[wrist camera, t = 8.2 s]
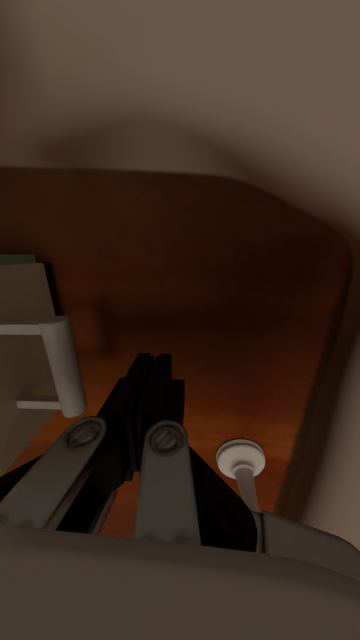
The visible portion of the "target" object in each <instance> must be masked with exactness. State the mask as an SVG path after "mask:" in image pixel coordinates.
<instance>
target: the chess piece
mask: <svg viewBox="0 0 360 640" xmlns="http://www.w3.org/2000/svg"><path fill="white" fill-rule="evenodd" d="M216 460H217V463H218V467H219V469H220V470H221V472H222V473H224V474H225V475H226V476H228V477H231V478H234V479H236V480H237V483H238V486H239V489H240V492H241V495H242V498H243V501H244V502H245V504H246V505H247V506H248V508H249V509H251V510H253V511H256V512H259V508H258V503H257V497H256V490H255V484H254V476H256V475H258V474H259V473H260V472H261V471H262V470H263V468H264V466H265V458H264V453H263V450H262V448H261V447H260V446H259V445H258V444H256V443H255V442H252V441H250V440H245V439H236V440H231V441H229V442H226V443H225V444H223V445H222V446H221V447H220V448H219V449H218V451H217V454H216Z"/></svg>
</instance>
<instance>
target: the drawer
mask: <svg viewBox="0 0 360 640" xmlns="http://www.w3.org/2000/svg"><path fill="white" fill-rule="evenodd" d="M86 408H87V401H86V396H85V391H84V386H83V382H82V377H81V372H80V367H79V362H78V357H77V352H76V348H75V343H74V338H73V333H72V328H71V323H70V319H69V317H68V316H55V312H54V308H53V303H52V299H51V294H50V290H49V286H48V281H47V277H46V273H45V268H44V264H43V263H22V264H6V265H0V477H1V476H2V475H3V474H4V473H5V471H6V470H7V469H8V468H9V467H10V465H11V464H12V463H13V462H14V461H15V460H16V458H17V457H18V456H19V455H20V454H21V452H22V451H23V450H24V449H25V448H26V447H27V445H28V444H29V443H30V442H31V441H32V440H33V438H34V437H35V436H36V435H37V434H38V432H39V431H40V430H41V429H42V428H43V427H44V425H45V424H46V423H47V422H48V421H49V420H50V418H51V417H52V416H53V415H54V414H55V412H56V411H57V410H58V409H59V410H60V409H61V410H62V414H63V415H64V416H65V417H68V418H71V417H75V416H78V415H80V414H81V413H83V412H84V411H85V410H86Z"/></svg>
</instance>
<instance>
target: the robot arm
mask: <svg viewBox="0 0 360 640" xmlns="http://www.w3.org/2000/svg"><path fill="white" fill-rule="evenodd" d="M184 402H185V382H184V380H173V379H172V360H171V354H160V356H156V358H155V360H154V357H153V356H150V353H139V354H138V355H137V357H136V359H135V360H134V362H133V364H132V366H131V367H130V369H129V371H128V373H127V374H126V376H125V378H120V379H119V380H118V382H117V383H116V385H115V386H114V388H113V390H112V391H111V393H110V395H109V396H108V398H107V400H106V401H105V403H104V404H103V406H102V408H101V409H100V411H99V413H98V414H97V416H89V417H85V418H82V419H80V420H78V421H76V422H74V423H73V424H72V425H71V426H69V427H68V428H67V429H66V430H65V431H64V433H63V434H62V435H61V436H60V437H59V438H58V439H57V440H56V441H55V442H54V444H53V445H52V446H51V447H50V448H49V449H48V450H47V451H46V452H45V453H44V454H43V455H41V456H39V457H37V458H35V459H33V460H31V461H30V462H28V463H26V464H24V465H22V466H20V467H18V468H17V469H15V470H13V471H11V472H9V473H7V474H5V475H4V476H2V477H0V640H360V551H359V550H358V549H356V548H355V547H354V546H353V545H352V544H351V543H350V542H348V541H346V540H344V539H342V538H340V537H338V536H336V535H332V534H330V533H327V532H324V531H321V530H318V529H316V528H313V527H310V526H307V525H304V524H302V523H299V522H296V521H293V520H290V519H287V518H285V517H282V516H279V515H276V514H273V513H270V512H268V511H265V510H263V511H262V513H259V512H256V511H253V510H251V509H249V508H248V506H247V505H246V504H245V502H244V501H243V500H242V499H241V498H240V497H239V496H238V495H237V494H236V493H235V492H234V491H233V490H232V489H231V488H230V487H229V486H228V485H227V484H226V483H225V482H224V481H223V480H222V479H221V478H220V477H219V476H218V475H217V474H216V473H215V472H214V471H213V470H212V469H211V468H210V467H209V465H208V464H207V463H206V462H205V461H204V460H203V459H202V458H201V457H200V456H199V455H198V454H197V453H196V452H195V451H194V450H193V449H192V448H191V447H190V446H189V444H188V436H187V432H186V429H185V428H184V427H183V418H184ZM134 471H135V472H138V471H140V483H139V492H138V501H137V510H136V519H135V528H134V538H125V537H115V536H105V535H99V532H100V530H101V528H102V526H103V524H104V522H105V519H106V517H107V515H108V513H109V511H110V508H111V506H112V504H113V502H114V500H115V497H116V494H117V488H118V487H120V486H121V485H122V484H123V483H124V481H132V478H133V474H134Z"/></svg>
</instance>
